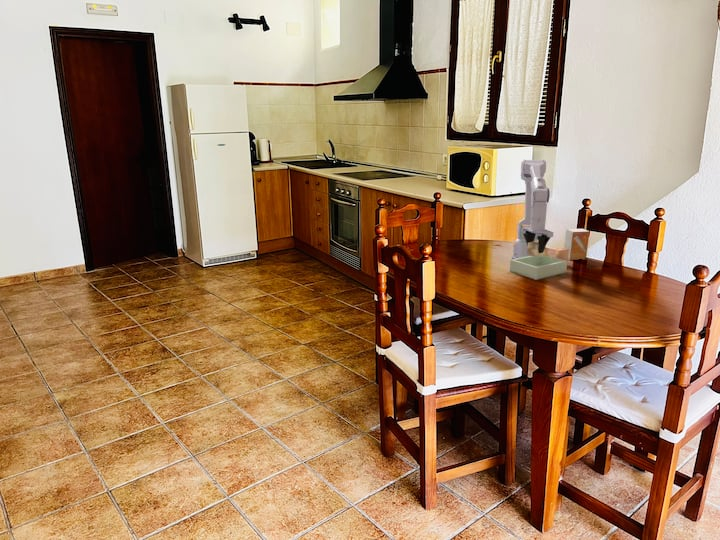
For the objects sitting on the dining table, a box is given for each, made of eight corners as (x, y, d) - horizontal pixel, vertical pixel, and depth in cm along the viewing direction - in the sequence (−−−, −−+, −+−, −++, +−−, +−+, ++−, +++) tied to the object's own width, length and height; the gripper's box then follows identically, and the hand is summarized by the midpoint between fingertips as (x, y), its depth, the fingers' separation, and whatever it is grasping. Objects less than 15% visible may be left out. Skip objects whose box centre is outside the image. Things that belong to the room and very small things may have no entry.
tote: (509, 271, 226) (510, 259, 225) (539, 264, 235) (540, 253, 234) (536, 279, 215) (537, 267, 214) (566, 272, 224) (567, 261, 222)
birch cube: (526, 254, 222) (527, 242, 221) (535, 252, 225) (536, 241, 223) (536, 257, 218) (537, 245, 217) (544, 255, 221) (546, 243, 219)
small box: (569, 260, 242) (572, 231, 238) (562, 256, 248) (565, 228, 244) (586, 259, 243) (589, 231, 239) (579, 255, 249) (582, 228, 245)
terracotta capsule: (552, 264, 236) (554, 248, 234) (560, 262, 239) (561, 247, 237) (562, 267, 232) (563, 251, 230) (569, 265, 234) (571, 249, 232)
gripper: (517, 216, 221) (515, 248, 225) (546, 222, 209) (543, 256, 213) (529, 214, 224) (526, 246, 228) (558, 220, 212) (555, 253, 216)
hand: (535, 251), depth 221 cm, fingers closed on birch cube, 5 cm apart
